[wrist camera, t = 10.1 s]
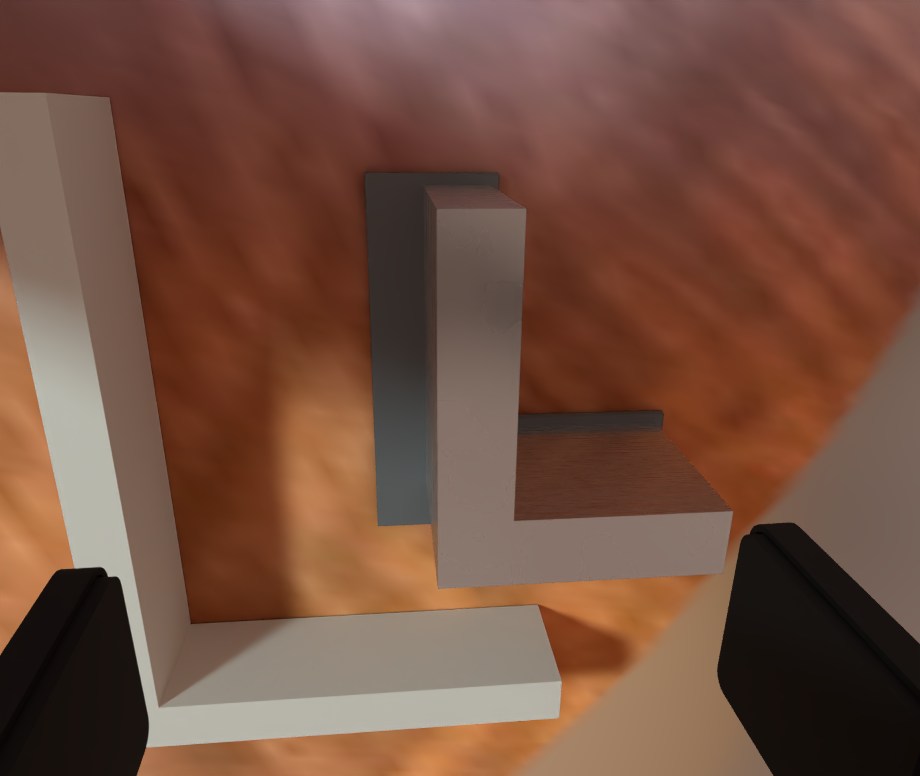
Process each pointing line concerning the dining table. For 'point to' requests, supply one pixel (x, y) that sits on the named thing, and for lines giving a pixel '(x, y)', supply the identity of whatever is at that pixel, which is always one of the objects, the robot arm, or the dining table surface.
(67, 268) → the light grey l-shaped block
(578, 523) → the angle bracket
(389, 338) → the pose mat
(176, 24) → the dining table surface
